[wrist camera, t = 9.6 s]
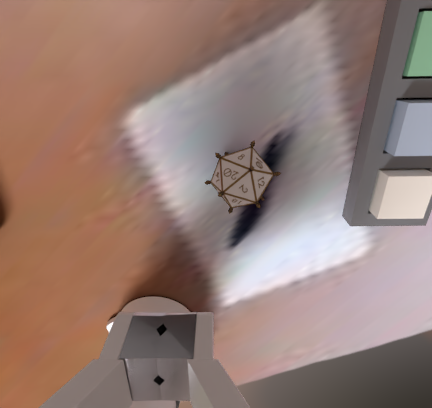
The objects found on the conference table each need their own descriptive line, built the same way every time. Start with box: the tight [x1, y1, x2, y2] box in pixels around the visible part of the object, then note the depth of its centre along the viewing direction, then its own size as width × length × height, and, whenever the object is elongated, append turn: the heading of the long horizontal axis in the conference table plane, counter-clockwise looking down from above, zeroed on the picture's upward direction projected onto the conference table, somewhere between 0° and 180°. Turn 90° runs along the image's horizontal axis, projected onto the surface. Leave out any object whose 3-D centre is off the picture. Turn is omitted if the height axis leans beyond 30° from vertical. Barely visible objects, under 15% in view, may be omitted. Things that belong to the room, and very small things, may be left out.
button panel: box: [342, 0, 432, 226], centre depth 36 cm, size 28×11×3 cm, turn 1°
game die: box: [205, 141, 281, 214], centre depth 37 cm, size 9×8×10 cm
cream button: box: [369, 168, 432, 219], centre depth 38 cm, size 6×6×3 cm
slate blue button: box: [384, 99, 432, 156], centre depth 34 cm, size 6×6×3 cm
